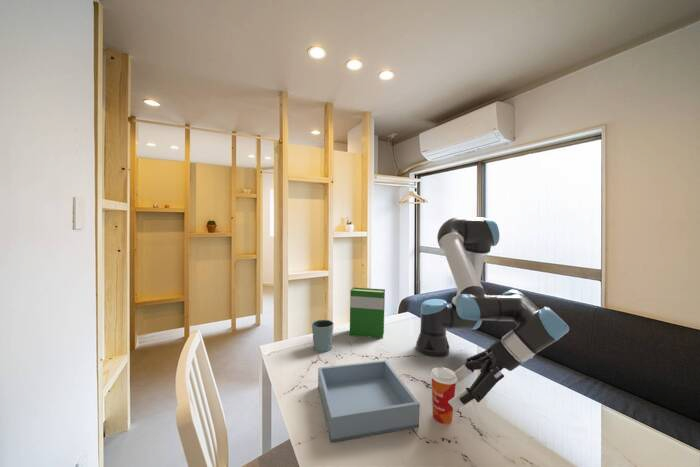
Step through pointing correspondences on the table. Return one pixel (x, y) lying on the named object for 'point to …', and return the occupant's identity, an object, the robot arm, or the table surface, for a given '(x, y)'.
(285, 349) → the table surface
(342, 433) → the bin
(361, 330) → the hardback book
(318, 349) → the grey-blue cup
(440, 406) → the paper cup
